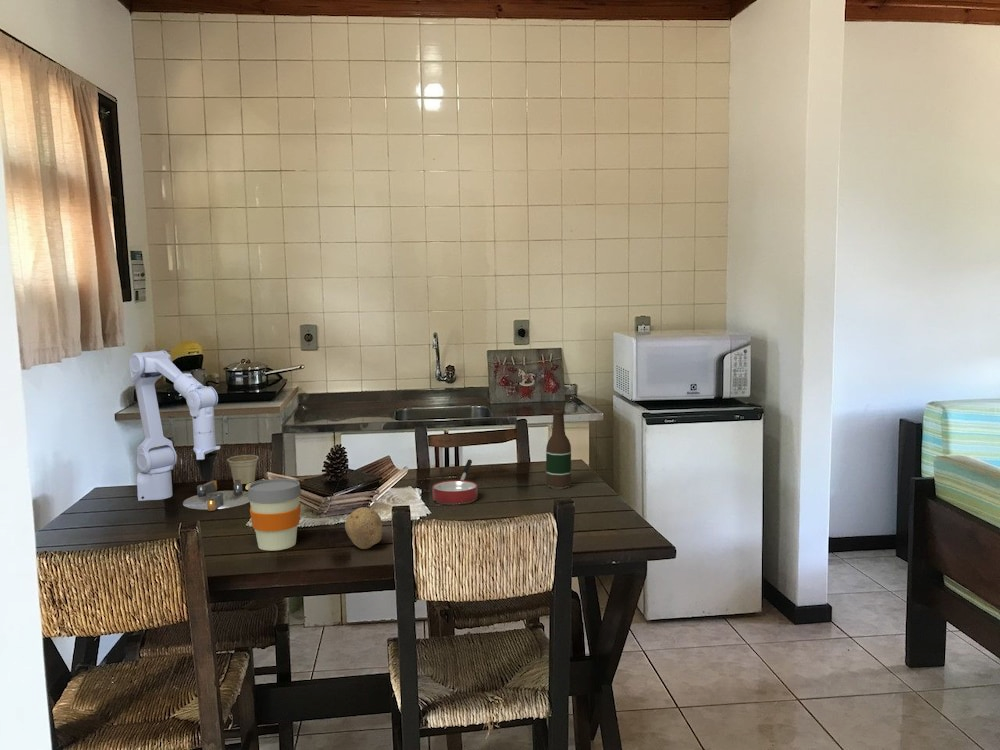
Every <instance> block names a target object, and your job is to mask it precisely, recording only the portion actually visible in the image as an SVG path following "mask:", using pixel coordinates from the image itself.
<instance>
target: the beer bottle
mask: <svg viewBox="0 0 1000 750" xmlns="http://www.w3.org/2000/svg"><path fill="white" fill-rule="evenodd" d="M551 412H552V415H553V417H552V431H551V436H550V438H549V439H548V441H547V443H546V450H545V456H546V457H545V460H546V461H545V465H546V467H545V468H546V470H545V471H546V473H545V475H546V476H545V477H546V479H545V481H546V486H547V485H550V486H554V487H566V486H570V487H571V485H572V445H571V442H570V439H569V438H568V437H567V435H566V429H565V428H566V427H565V415H564V414H565V409H564V408H553V410H552V411H551ZM570 484H571V485H570Z"/></svg>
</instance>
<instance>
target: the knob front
mask: <svg viewBox="0 0 1000 750" xmlns="http://www.w3.org/2000/svg"><path fill="white" fill-rule="evenodd" d="M222 504H224V500H223V493H222V492H219V493H215V494H214V496H213V497H212V498H210V499H209V500H207V506H208V509H207V511H208V512H214V511H216V510H217V509H216V508H218V507H219V506H220V505H222Z"/></svg>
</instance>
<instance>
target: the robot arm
mask: <svg viewBox="0 0 1000 750" xmlns="http://www.w3.org/2000/svg"><path fill="white" fill-rule="evenodd" d="M172 361H173V360H172V356H171V354H169V353H168V352H167V351H166V350H163V349H161V350H156V351H155V350H154V351H143V352H133V353H132V355H130V358H129V361H128V368H129V373H130V378H131V381H132V382H133V383H134V387H135V393H136V399H137V403H138V409H139V415H140V420H141V426H142V427H141V428H142V432H143V433H142V434H143V438H144V440H143V441H142V442H141V443H140V444H139V445H138V446H137V447H136V451H137V453H136V465H137V467H138V469H139V470H140V471H141V472H137V475H136V485H137V486H136V487H137V492H136V493H137V500H138V501H139V502H141V501H142V502H143V501H158V500H165V499H169V498H171V497H172V496H174V495H173V483H172V470H173V469H174V466H175V465H176V464H177V460H178V455H177V451H176V450H175V448H174V445H173V441H172V440H171V439H168V438H167V437H165V436H164V432H163V425H162V421H161V420H162V419H161V415H160V413H161V412H160V409H159V408H160V407H159V403H158V397H157V391H156V386H155V384H156V382H157V381H158V380H159V379H161V378H162V377H165V378H167V379H168V380H169V381H171V382H172V383H173V389H174V390H175V391H177V393H179V394H180V395H181V396H182V397H183V398H184V399H185V401H186V405H187V407H188V409H189V414H190V417H191V418H192V420H191V421H192V433H193V452H194V453H195V455H193V459H194V462H195V463H196V465H197V466H198V470H199V472H200V477H201V480H202V481H212V475H213V472H214V471H213V470H214V464H215V461H216V458H217V456H218V452H217V450H218V451H219V450H220V449H221V445H217V442H216V440H217V439H216V424H215V423H216V422H215V407H216V406H217V405H218V402H219V396H218V393H217V391H216V389H215V388H214V387H213V386H206V385H205V386H204V385H203V384H202V382H199V381H198V380H197V379H196V378H195V377H194V376H193V375H192V374H191V373H183V372H182V371H181V369H179V368H178V367H177V366H176V364H175V363H173V362H172ZM152 448H153V449H152ZM215 451H216V452H215ZM138 501H137V502H138Z"/></svg>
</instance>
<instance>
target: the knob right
mask: <svg viewBox="0 0 1000 750" xmlns="http://www.w3.org/2000/svg"><path fill="white" fill-rule="evenodd" d="M233 491H234V495H242V494H243V492H242V491H243V484H241V479H237V480H234V482H233Z"/></svg>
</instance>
